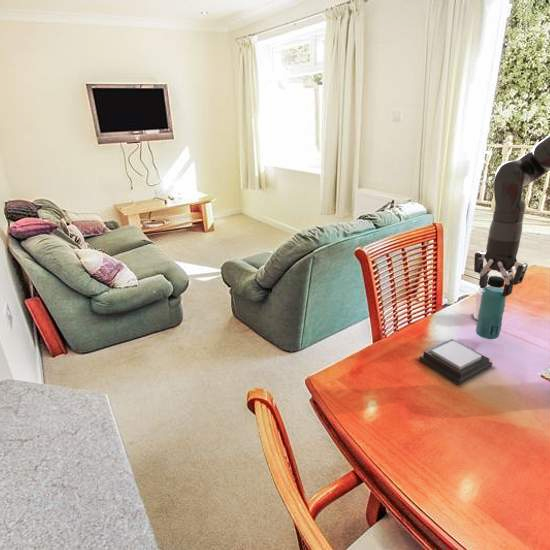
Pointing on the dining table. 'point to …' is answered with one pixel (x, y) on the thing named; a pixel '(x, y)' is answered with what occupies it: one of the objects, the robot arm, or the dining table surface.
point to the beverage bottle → (491, 309)
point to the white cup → (477, 302)
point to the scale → (452, 371)
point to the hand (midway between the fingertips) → (494, 291)
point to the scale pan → (456, 354)
